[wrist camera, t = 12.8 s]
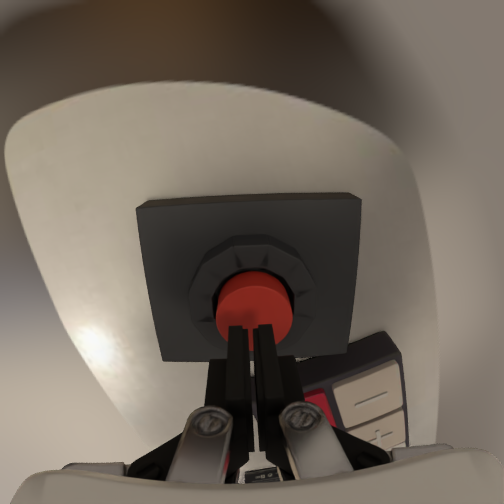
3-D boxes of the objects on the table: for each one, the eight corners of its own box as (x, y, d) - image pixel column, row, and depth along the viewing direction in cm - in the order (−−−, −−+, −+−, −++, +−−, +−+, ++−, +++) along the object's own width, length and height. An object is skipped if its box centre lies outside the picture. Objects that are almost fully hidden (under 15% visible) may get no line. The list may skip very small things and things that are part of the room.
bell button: (288, 269, 16) (293, 284, 14) (287, 330, 17) (291, 348, 15) (215, 272, 16) (212, 287, 14) (220, 333, 17) (219, 352, 15)
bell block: (349, 192, 18) (375, 205, 14) (338, 335, 21) (354, 370, 18) (146, 200, 18) (123, 215, 14) (168, 342, 21) (156, 379, 17)
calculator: (406, 355, 18) (412, 463, 22) (383, 324, 22) (398, 434, 26) (246, 412, 19) (303, 500, 23) (246, 373, 23) (299, 468, 27)
